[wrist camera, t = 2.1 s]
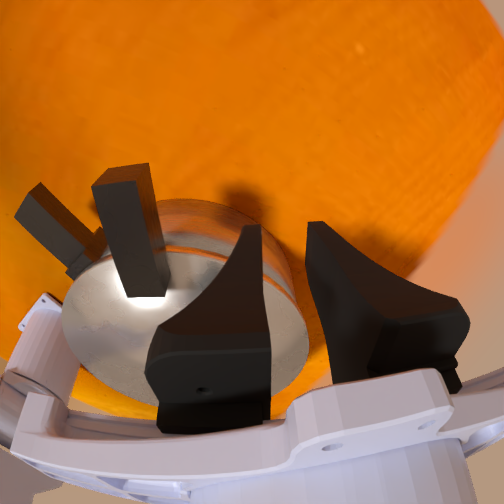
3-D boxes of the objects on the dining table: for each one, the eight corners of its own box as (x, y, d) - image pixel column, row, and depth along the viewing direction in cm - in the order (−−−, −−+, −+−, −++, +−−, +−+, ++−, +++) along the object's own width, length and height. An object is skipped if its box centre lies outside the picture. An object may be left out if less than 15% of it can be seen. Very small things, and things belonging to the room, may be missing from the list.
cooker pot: (327, 299, 27) (342, 353, 23) (190, 368, 33) (186, 415, 28) (134, 85, 16) (95, 99, 12) (17, 234, 22) (-17, 276, 17)
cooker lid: (297, 399, 26) (301, 424, 24) (115, 400, 26) (110, 422, 24) (324, 147, 13) (341, 167, 11) (1, 187, 13) (-25, 209, 11)
